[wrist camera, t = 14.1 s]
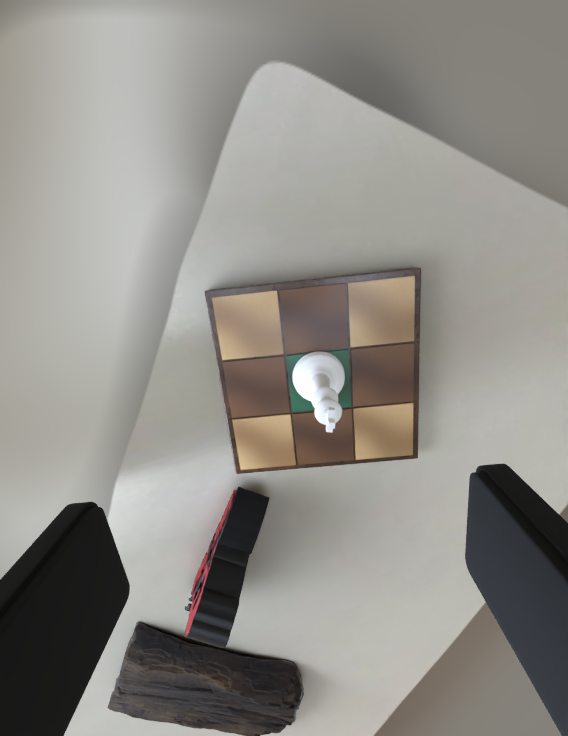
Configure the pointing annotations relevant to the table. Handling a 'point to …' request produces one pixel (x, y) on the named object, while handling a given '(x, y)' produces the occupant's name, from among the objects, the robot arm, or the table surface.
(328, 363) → the chess piece
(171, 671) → the dark tree bark
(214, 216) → the table surface
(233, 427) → the board
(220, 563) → the logo sign
